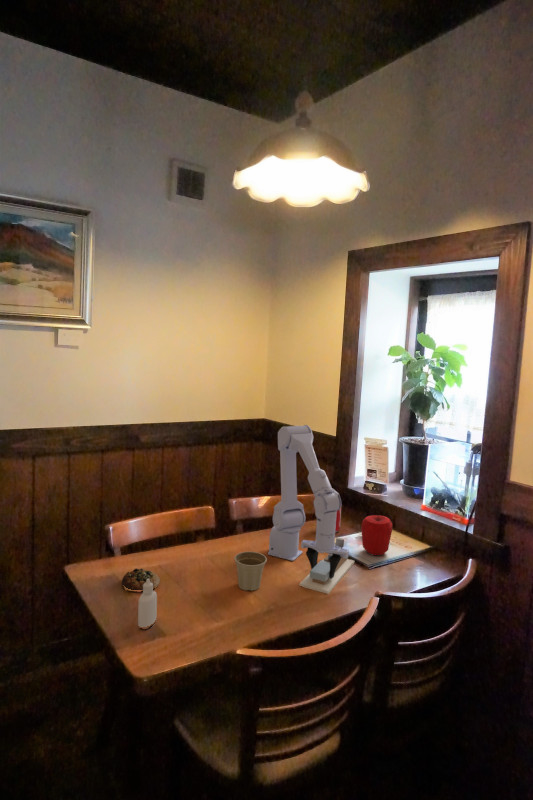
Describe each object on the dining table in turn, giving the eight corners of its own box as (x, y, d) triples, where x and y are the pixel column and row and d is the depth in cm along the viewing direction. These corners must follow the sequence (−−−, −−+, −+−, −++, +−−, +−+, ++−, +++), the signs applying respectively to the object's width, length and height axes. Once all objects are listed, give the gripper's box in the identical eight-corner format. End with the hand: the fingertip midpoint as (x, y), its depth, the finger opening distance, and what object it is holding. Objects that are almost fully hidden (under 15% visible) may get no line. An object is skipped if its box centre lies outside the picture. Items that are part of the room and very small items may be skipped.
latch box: (299, 586, 156) (300, 572, 156) (328, 556, 177) (329, 544, 177) (328, 594, 152) (329, 580, 152) (354, 563, 173) (355, 550, 173)
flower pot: (269, 582, 158) (271, 554, 156) (259, 597, 149) (260, 567, 148) (240, 576, 161) (241, 549, 160) (228, 590, 152) (229, 561, 151)
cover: (309, 577, 157) (309, 571, 157) (320, 566, 165) (321, 560, 165) (325, 581, 155) (325, 575, 155) (335, 570, 163) (336, 563, 163)
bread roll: (112, 588, 150) (115, 571, 150) (135, 577, 160) (137, 560, 160) (146, 598, 146) (148, 580, 146) (167, 586, 156) (169, 569, 156)
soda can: (322, 532, 198) (324, 501, 197) (323, 526, 205) (325, 496, 203) (339, 534, 197) (341, 503, 196) (340, 528, 204) (342, 498, 202)
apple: (376, 544, 189) (379, 508, 188) (396, 555, 181) (400, 517, 179) (353, 549, 184) (356, 512, 182) (373, 561, 175) (376, 522, 174)
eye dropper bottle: (133, 624, 132) (133, 579, 131) (152, 617, 136) (153, 572, 135) (141, 632, 129) (142, 585, 128) (161, 624, 133) (162, 579, 131)
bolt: (326, 558, 165) (327, 546, 165) (336, 548, 173) (337, 537, 173) (333, 560, 164) (334, 548, 164) (343, 550, 172) (344, 538, 172)
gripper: (297, 531, 158) (295, 574, 160) (344, 541, 152) (341, 586, 153) (307, 523, 164) (304, 565, 166) (352, 533, 158) (349, 576, 160)
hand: (322, 574), depth 160 cm, fingers closed on cover, 5 cm apart
